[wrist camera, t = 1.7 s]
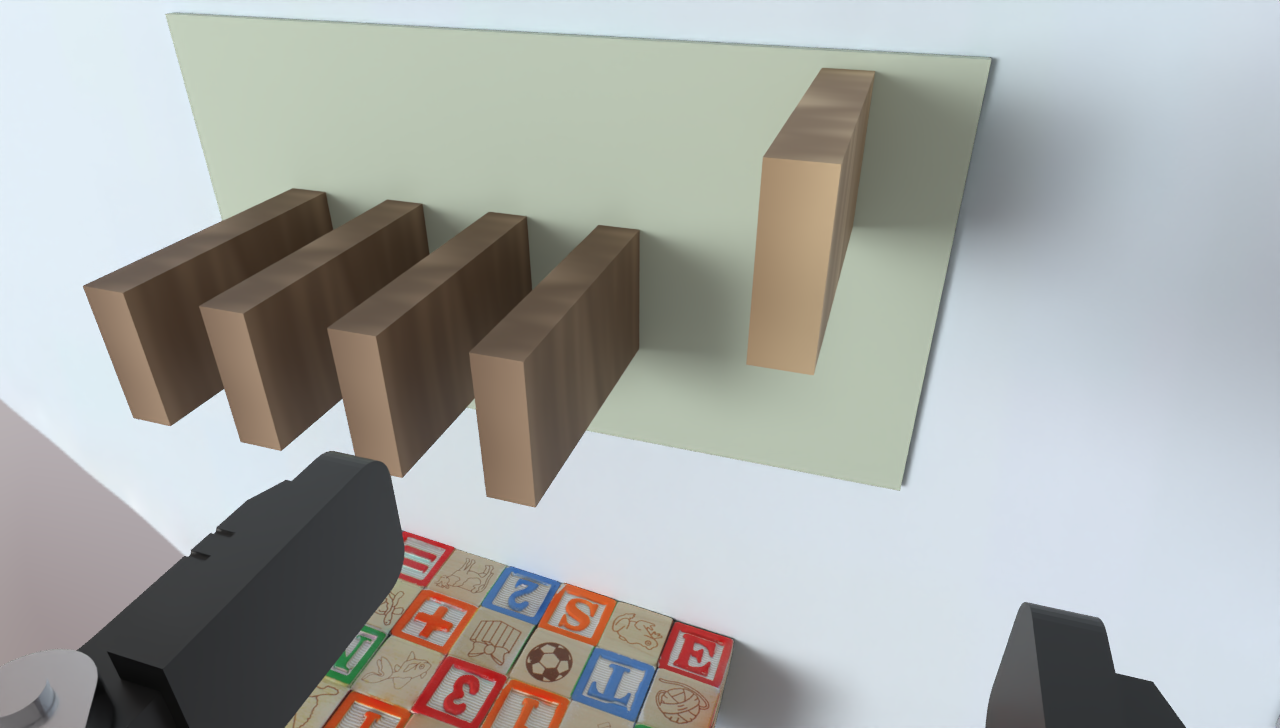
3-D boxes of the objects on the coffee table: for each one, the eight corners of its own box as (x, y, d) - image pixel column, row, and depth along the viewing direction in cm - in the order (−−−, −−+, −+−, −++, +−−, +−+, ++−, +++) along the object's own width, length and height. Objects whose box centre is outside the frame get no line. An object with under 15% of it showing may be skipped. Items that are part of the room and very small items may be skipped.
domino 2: (422, 203, 32) (243, 313, 24) (438, 316, 34) (281, 450, 26) (387, 199, 32) (198, 306, 24) (405, 310, 35) (240, 441, 27)
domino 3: (527, 216, 31) (375, 336, 23) (535, 332, 33) (402, 478, 25) (488, 211, 31) (326, 328, 23) (500, 326, 34) (357, 467, 26)
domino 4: (639, 229, 30) (523, 361, 21) (639, 348, 32) (535, 507, 24) (598, 224, 30) (468, 352, 22) (601, 342, 33) (486, 496, 24)
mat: (990, 57, 24) (991, 59, 23) (900, 484, 32) (899, 490, 32) (173, 12, 32) (165, 13, 31) (268, 364, 40) (262, 368, 39)
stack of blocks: (738, 634, 39) (667, 894, 29) (720, 713, 42) (650, 971, 32) (353, 511, 44) (176, 699, 34) (363, 592, 47) (205, 785, 37)
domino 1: (325, 192, 33) (122, 292, 25) (348, 301, 36) (170, 426, 27) (292, 188, 34) (82, 286, 25) (317, 296, 36) (133, 417, 28)
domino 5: (875, 71, 25) (840, 164, 16) (852, 227, 27) (813, 375, 19) (821, 67, 25) (762, 156, 17) (804, 221, 28) (745, 364, 19)
